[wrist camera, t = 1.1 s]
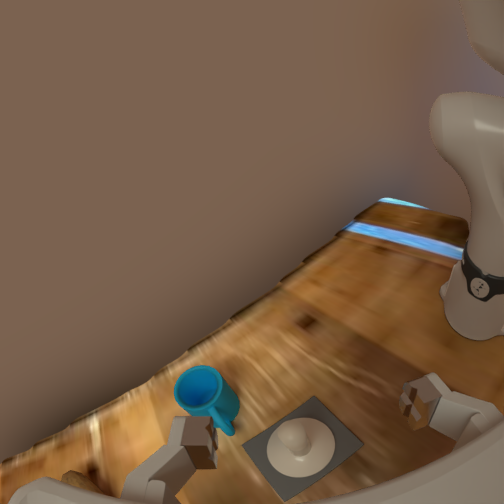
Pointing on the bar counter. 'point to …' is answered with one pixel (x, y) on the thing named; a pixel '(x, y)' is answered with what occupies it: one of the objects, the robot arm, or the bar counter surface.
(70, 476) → the potato
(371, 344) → the bar counter surface
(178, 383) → the mug
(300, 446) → the white post stand
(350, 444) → the mat
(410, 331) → the bar counter surface
